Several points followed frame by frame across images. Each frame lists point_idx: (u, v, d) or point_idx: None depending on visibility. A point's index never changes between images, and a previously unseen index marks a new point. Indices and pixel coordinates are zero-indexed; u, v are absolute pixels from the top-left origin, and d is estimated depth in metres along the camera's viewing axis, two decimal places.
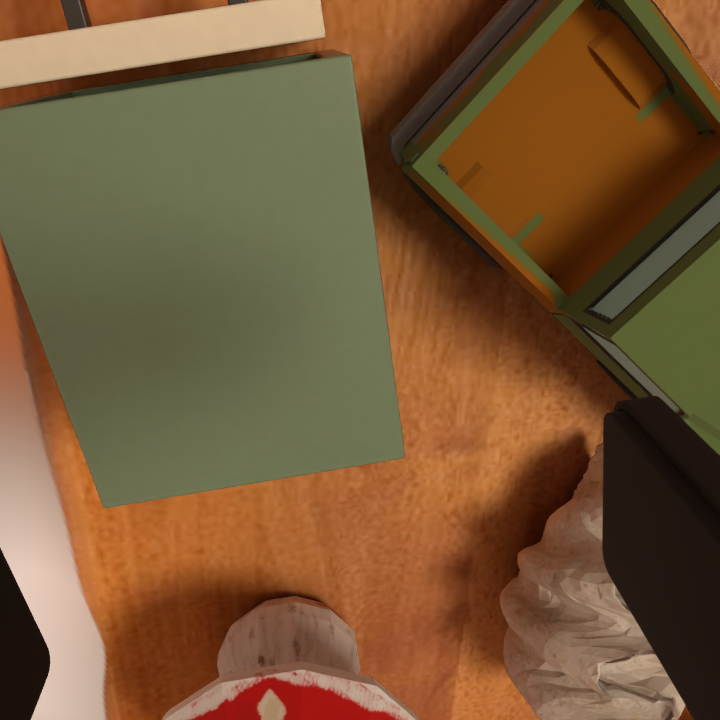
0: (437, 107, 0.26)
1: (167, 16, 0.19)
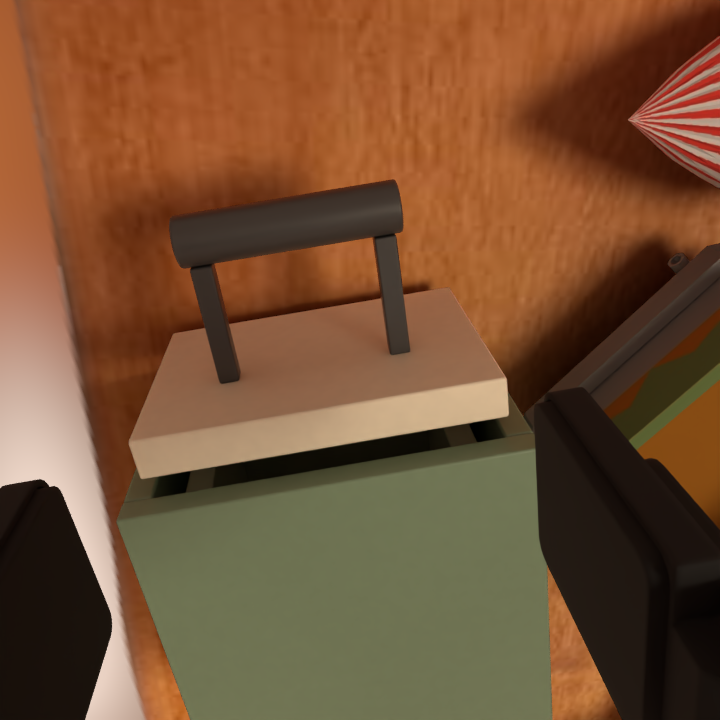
0: None
1: (343, 407, 0.18)
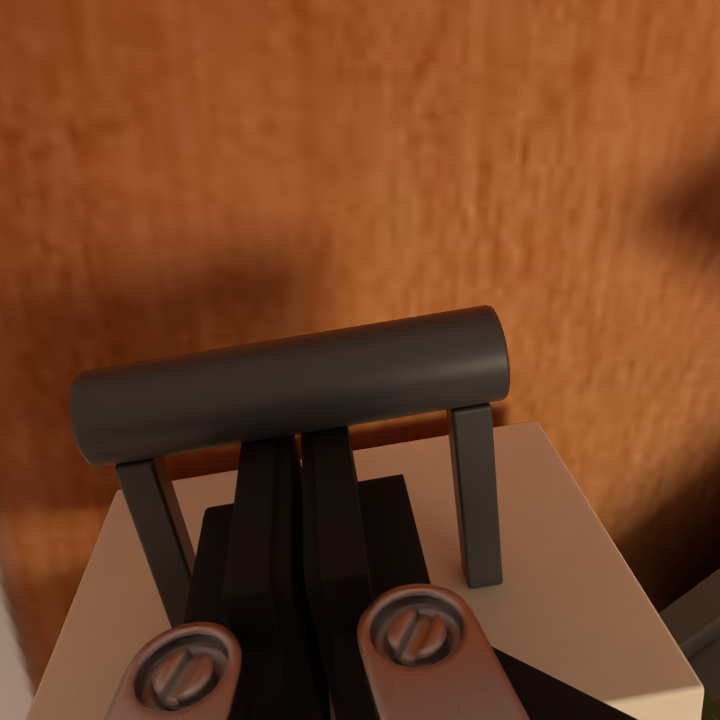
0: None
1: None
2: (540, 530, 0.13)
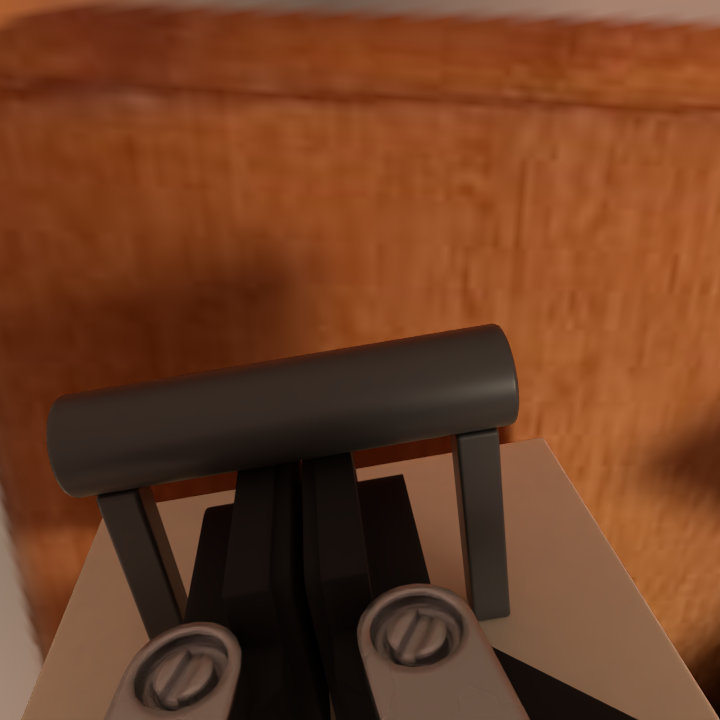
0: None
1: None
2: (548, 557, 0.12)
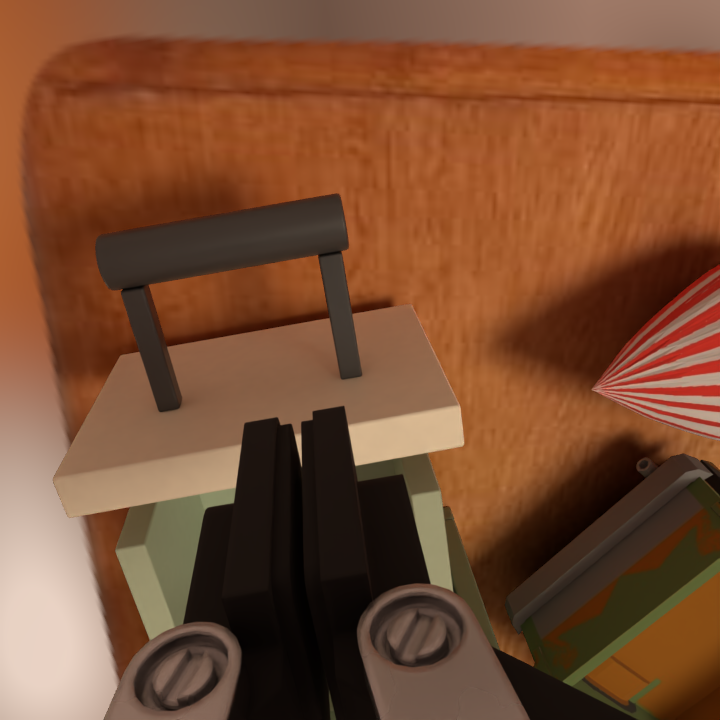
0: (559, 589, 0.26)
1: None
2: (393, 353, 0.20)
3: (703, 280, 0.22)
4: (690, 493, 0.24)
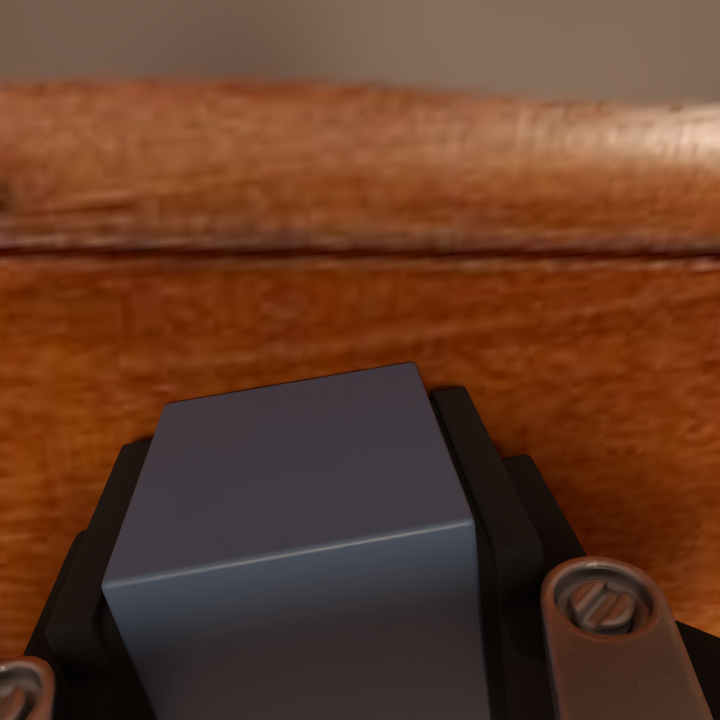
0: None
1: None
2: None
3: None
4: None
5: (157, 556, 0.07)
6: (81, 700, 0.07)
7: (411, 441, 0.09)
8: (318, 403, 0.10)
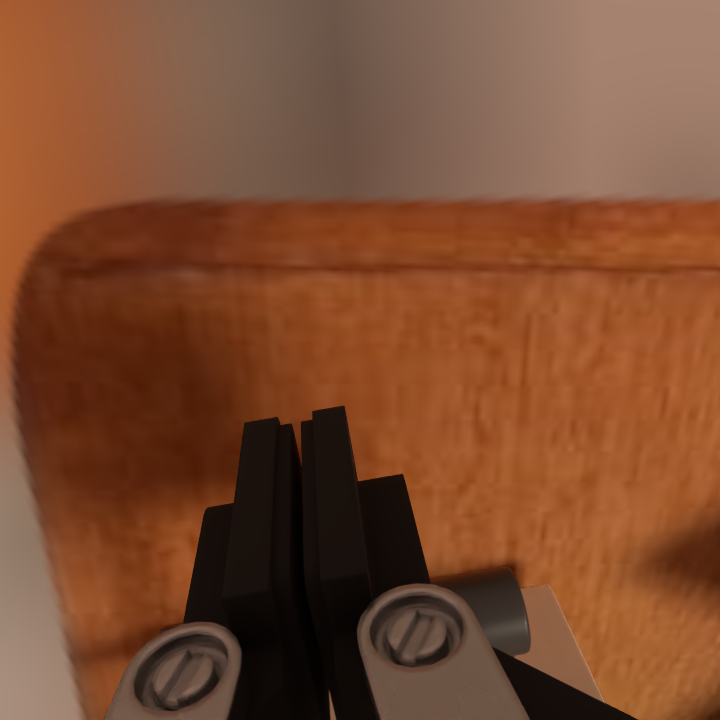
0: None
1: None
2: None
3: None
4: None
5: None
6: (255, 666, 0.07)
7: None
8: None
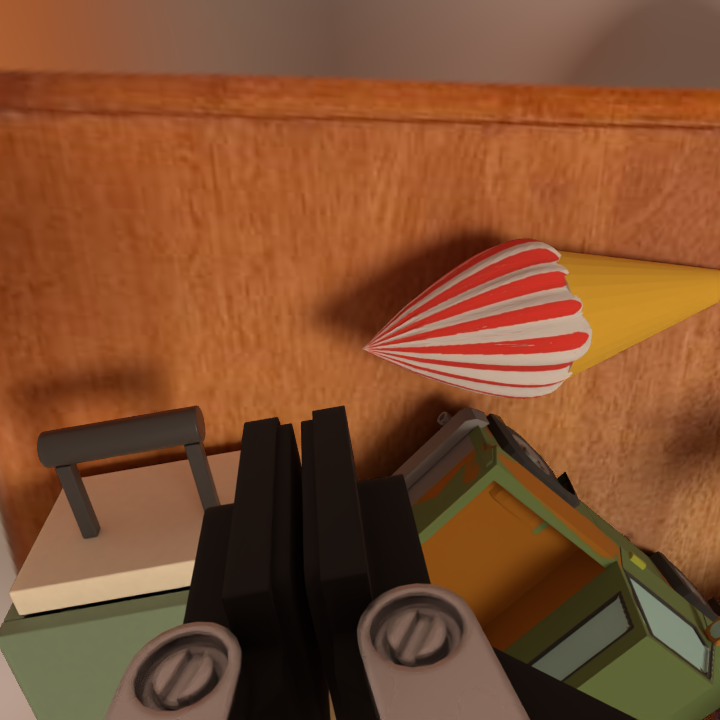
0: None
1: (157, 568, 0.26)
2: None
3: (461, 264, 0.27)
4: (469, 438, 0.30)
5: None
6: (255, 666, 0.07)
7: None
8: None
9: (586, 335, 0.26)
